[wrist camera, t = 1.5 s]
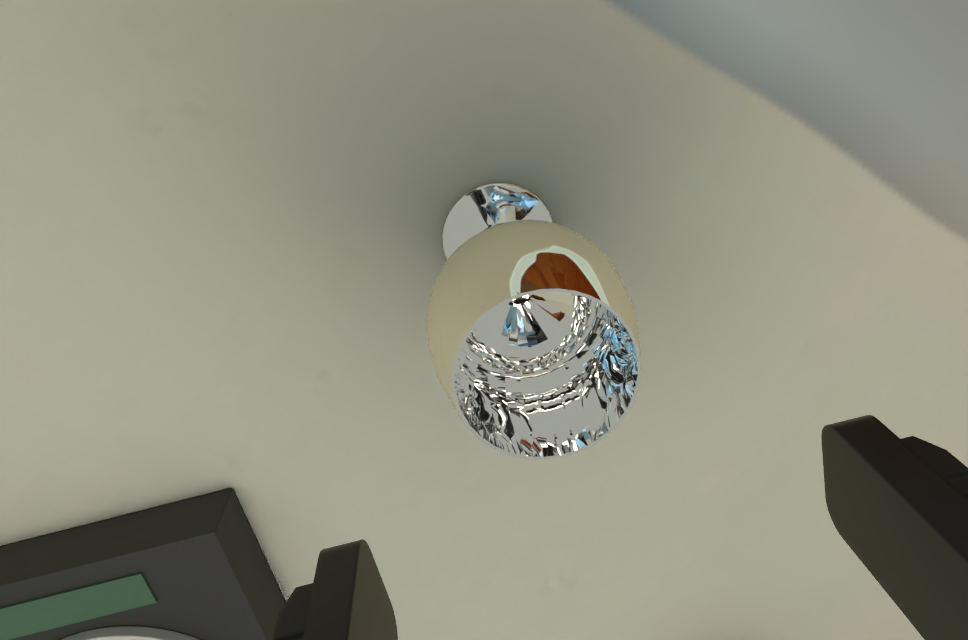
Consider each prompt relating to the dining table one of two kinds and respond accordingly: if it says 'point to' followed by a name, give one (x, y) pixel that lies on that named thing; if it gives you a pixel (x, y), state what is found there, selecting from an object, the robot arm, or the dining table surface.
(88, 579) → the scale
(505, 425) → the wineglass
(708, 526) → the dining table surface
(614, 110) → the dining table surface
